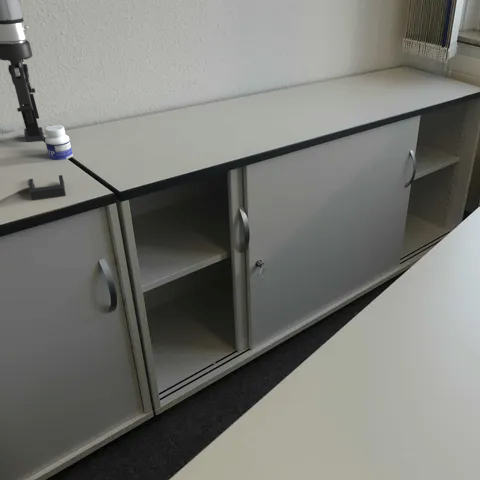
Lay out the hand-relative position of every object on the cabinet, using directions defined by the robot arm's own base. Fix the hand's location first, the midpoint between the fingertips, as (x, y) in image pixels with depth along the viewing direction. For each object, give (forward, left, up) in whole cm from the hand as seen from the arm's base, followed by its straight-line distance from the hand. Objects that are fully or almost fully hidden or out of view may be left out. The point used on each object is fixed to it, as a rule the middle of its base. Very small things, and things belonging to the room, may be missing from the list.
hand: (33, 126), depth 139 cm
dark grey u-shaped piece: (+21, -20, -5) cm, 30 cm away
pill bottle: (+13, -6, -5) cm, 15 cm away
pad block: (0, 0, -5) cm, 5 cm away
